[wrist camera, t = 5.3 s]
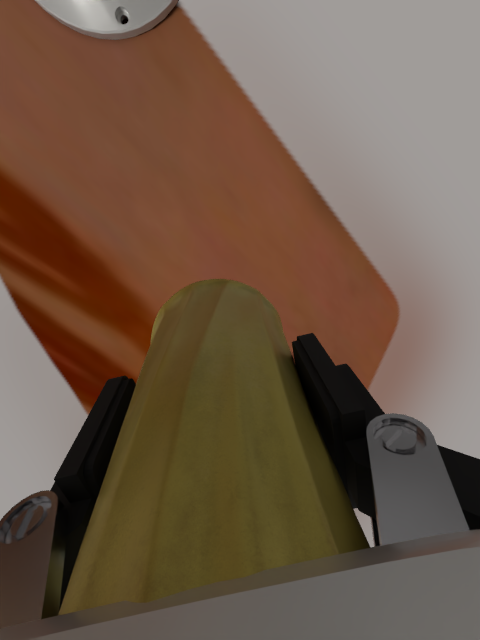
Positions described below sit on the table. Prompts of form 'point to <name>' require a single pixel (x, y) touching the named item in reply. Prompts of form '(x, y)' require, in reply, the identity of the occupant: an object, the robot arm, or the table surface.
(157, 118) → the table surface
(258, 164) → the table surface
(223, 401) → the vase
